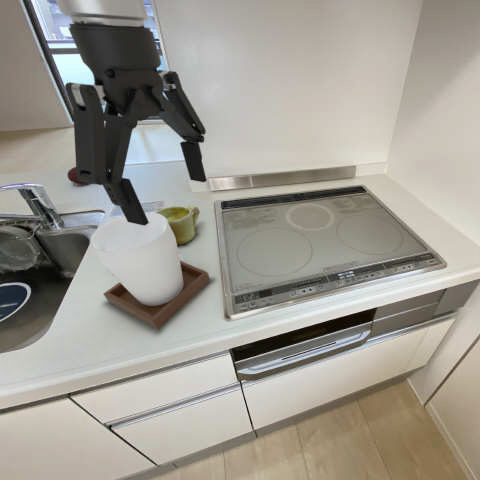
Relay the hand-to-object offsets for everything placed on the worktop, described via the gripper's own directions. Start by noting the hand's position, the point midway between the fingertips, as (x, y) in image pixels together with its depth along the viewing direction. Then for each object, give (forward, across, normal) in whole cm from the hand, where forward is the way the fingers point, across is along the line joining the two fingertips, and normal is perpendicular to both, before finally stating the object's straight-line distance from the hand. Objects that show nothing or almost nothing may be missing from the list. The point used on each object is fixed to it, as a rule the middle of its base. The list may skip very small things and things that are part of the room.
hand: (172, 198), depth 41 cm
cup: (+26, 0, +12) cm, 29 cm away
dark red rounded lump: (+27, +35, +74) cm, 86 cm away
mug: (+27, +20, +21) cm, 39 cm away
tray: (+27, 0, +12) cm, 29 cm away
